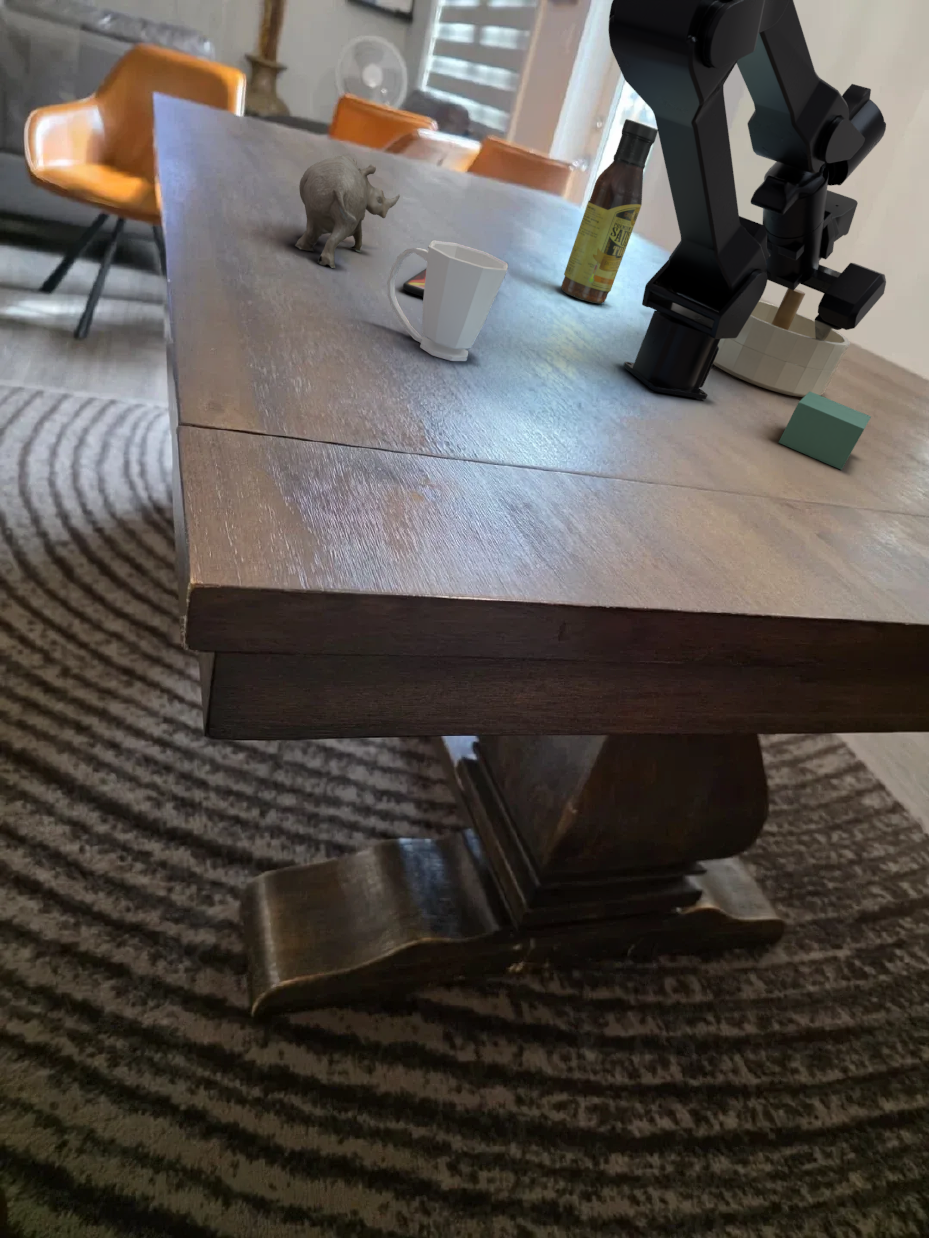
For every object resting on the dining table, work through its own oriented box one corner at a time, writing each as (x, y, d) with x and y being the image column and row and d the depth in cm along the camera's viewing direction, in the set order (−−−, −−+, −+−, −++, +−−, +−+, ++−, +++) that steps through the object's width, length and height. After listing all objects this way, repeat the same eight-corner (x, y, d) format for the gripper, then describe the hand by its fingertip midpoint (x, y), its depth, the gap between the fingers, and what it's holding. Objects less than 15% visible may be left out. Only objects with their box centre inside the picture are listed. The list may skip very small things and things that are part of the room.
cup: (461, 373, 70) (489, 272, 66) (359, 329, 72) (379, 228, 68) (496, 360, 76) (523, 267, 71) (400, 319, 78) (421, 226, 74)
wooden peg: (776, 375, 99) (814, 297, 94) (754, 369, 98) (790, 290, 94) (766, 366, 102) (802, 290, 97) (744, 361, 101) (779, 283, 96)
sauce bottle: (594, 308, 105) (656, 128, 95) (550, 289, 107) (606, 112, 97) (613, 304, 111) (674, 134, 100) (572, 287, 113) (627, 118, 102)
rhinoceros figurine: (256, 221, 83) (322, 86, 84) (282, 284, 97) (339, 167, 98) (330, 254, 83) (395, 119, 84) (345, 313, 97) (401, 196, 98)
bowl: (745, 390, 92) (773, 331, 88) (672, 340, 103) (695, 285, 99) (847, 408, 98) (877, 353, 95) (768, 358, 109) (792, 307, 106)
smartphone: (401, 283, 86) (434, 261, 98) (399, 291, 86) (433, 268, 99) (472, 305, 85) (496, 280, 98) (470, 314, 86) (494, 288, 98)
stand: (778, 442, 78) (798, 401, 76) (789, 430, 83) (809, 391, 81) (841, 470, 77) (864, 429, 75) (849, 455, 82) (871, 416, 79)
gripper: (931, 189, 81) (903, 306, 95) (761, 135, 90) (758, 249, 104) (861, 271, 80) (843, 378, 94) (695, 208, 89) (701, 314, 102)
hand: (785, 325), depth 98 cm, fingers open, 9 cm apart
